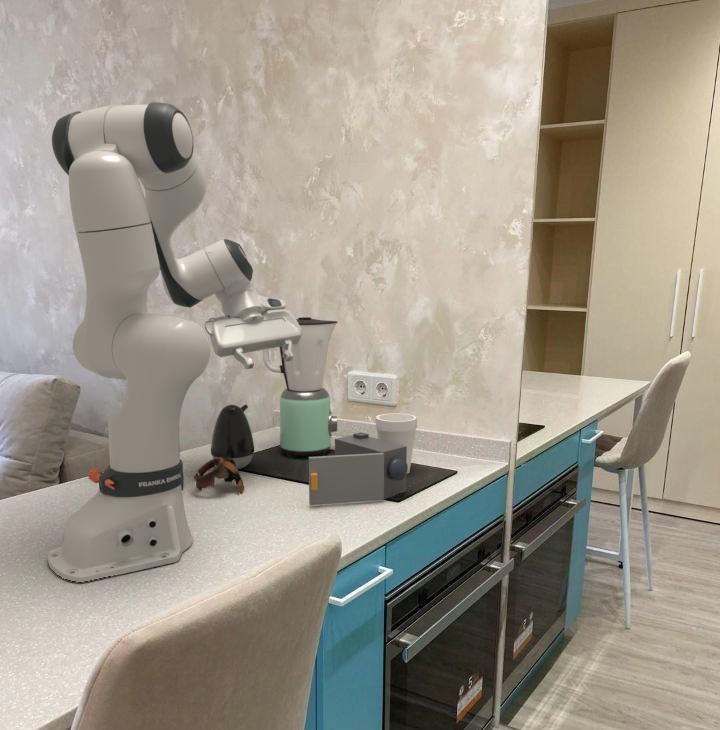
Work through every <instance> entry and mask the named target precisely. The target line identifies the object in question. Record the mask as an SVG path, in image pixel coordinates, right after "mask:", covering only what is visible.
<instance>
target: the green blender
mask: <svg viewBox="0 0 720 730" xmlns="http://www.w3.org/2000/svg"><path fill="white" fill-rule="evenodd" d="M295 319H296V320H297V322H298V324H299V325H300V327H301V329H302V336H301V338H300V340H299V342H298V343H297V344H293V345H292V346H291V352H292V354H293V359H292V361H287V362H285V359H284V358H283V354H284V352H285V351H286V349H283V347H279V353H280V359H281V365H279V366H275V365H273V364H272V363H271V362H270V354H269V353H270V352H269V349H265V350H262V359H263V360H262V361H263V363H264V366H265V367H266V368H267V370H269V371H270V372H273V373H276V374H279V373H281V374H282V375H283V376H284V381H285V386H286V388H285V389H284V390H283V391H282V393H281V394H280V399H279V446H280V449H281V451H282V452H283V453H286V457H288V459H293V457H294V458H295V457H296V456H303V457H304V456H305V457H306V456H316V457H318V456H326V452H328V451H329V450H330V449H331V446H332V440H331V439H332V437H333V434H332V433H334V432H335V433H336V432H338V419H337V418H338V416H337V415H332V413H333V412H332V411H331V397H330V394H329V392H328V391H327V390H326V388H324V387H323V384H324V377H325V376H324V375H325V371H326V370H325V369H326V362H327V355H328V349H329V344H330V339H331V336H332V333H333V331H334V330H335V327H336V326H337V324H338V321H336V320H322V319H321V320H320V319H315V318H312V317H309V316H307V317H306V316H305V317H303V316H302V317H298V318H295Z"/></svg>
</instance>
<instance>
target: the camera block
mask: <svg viewBox="0 0 720 730" xmlns="http://www.w3.org/2000/svg"><path fill="white" fill-rule="evenodd" d="M371 453H384V500H387V498H388V499H390V498H389V497H391V496H394V495H396V494H399V493H402V492H405V491H406V492H407V475H408V474H407V470H408V466H407V463H406V457H407V446H403V445H399V444H396V443H392V442H388V441H384V440H380V439H378V438H377V437H371V436H370V435H369V434H368V433H366V432H362V431H361V432H357V433H353V434H352V435H347V436H342V437H341V436H340V437H337V438H334V456H336V455H353V454H371ZM406 474H407V475H406ZM394 497H395V496H394ZM391 498H392V497H391Z"/></svg>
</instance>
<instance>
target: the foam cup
mask: <svg viewBox="0 0 720 730" xmlns="http://www.w3.org/2000/svg"><path fill="white" fill-rule="evenodd" d="M417 428H418V417H416V415H413V414H409V413H399V412H398V413H397V412H396V413H394V412H392V413H390V412H389V413H381V414H378V415H376V416H375V429H376V433H377V439H380V440H384V441H388V442H392V443H396V444H399V445H403V446H407V457H406V463H407V466H408V470H407V473H409V474H410V470H411V464H412V458H413V450H414V444H415V439H416V438H415V437H416V429H417Z"/></svg>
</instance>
